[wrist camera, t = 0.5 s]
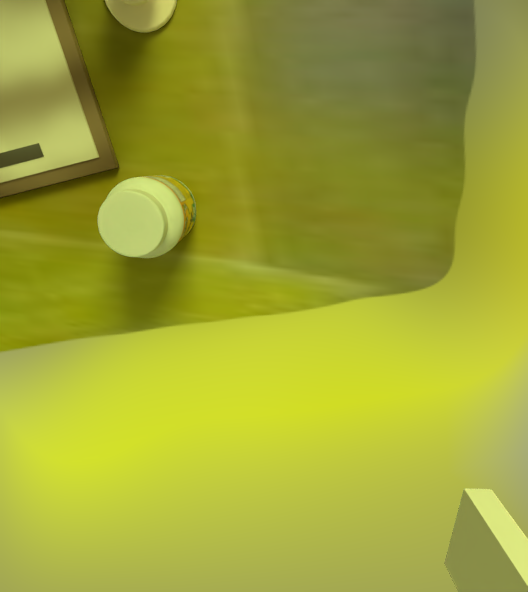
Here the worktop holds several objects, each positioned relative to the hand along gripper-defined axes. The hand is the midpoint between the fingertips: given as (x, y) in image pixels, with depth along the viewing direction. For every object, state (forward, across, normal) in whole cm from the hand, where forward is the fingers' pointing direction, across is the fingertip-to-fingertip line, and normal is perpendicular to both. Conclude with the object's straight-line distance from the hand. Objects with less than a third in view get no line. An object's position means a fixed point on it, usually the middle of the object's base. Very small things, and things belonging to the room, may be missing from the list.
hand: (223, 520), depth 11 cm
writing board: (+26, -20, +13) cm, 35 cm away
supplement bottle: (+26, -7, +5) cm, 27 cm away
